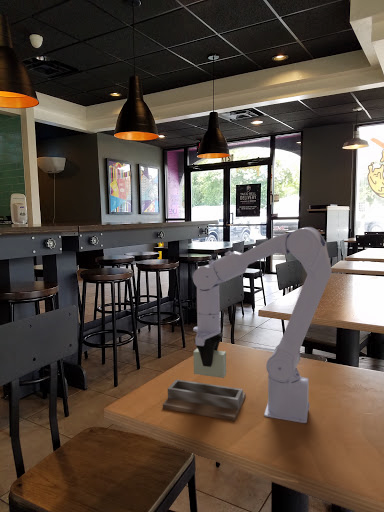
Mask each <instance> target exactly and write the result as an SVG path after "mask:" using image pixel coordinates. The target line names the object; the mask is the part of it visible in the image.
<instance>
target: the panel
mask: <svg viewBox="0 0 384 512" xmlns="http://www.w3.org/2000/svg"><path fill="white" fill-rule="evenodd" d="M192 353H193V355H192V357H193V375H198V376H199V375H200V376H204V377H205V376H207V377H213V378H221V379H224V378H225V377H226V375H227V351H225V350H224V351H223V350H217V351H216V350H214V353H213V362H212V366H211V367H207V366H203V364H202V360H201V356H200V353H199V350H198V348H197V347H196V349H194V350H193V352H192Z"/></svg>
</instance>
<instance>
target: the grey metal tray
mask: <svg viewBox="0 0 384 512" xmlns="http://www.w3.org/2000/svg"><path fill="white" fill-rule="evenodd" d="M246 395H247V394H246V392H244V389H243V388H239V387H230V386H226V385H225V386H224V385H217V384H211V383H204V382H196V381H190V380H183V379H177V378H176V379H175V380H174V381H173V382H172V384H170V385H169V387H168V388H167V398H166V399H165V401H164V402H163V403H162V409H165V410H170V411H177V412H182V413H188V414H193V415H197V416H203V417H204V416H205V417H211V418H215V419H220V420H226V421H227V420H228V421H232V422H233V421H234V422H235V421H236V419H237V417H238V414H239V412H240V410H241V407H242V405H243V403H244V401H245V399H246Z"/></svg>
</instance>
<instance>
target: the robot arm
mask: <svg viewBox="0 0 384 512" xmlns="http://www.w3.org/2000/svg"><path fill="white" fill-rule="evenodd" d="M290 253H291V255H292V256H293V257H295V259H296V260H297V261H299V262H300V263H301V265H302V267H303V269H304V271H305V273H306V277H305V280H304V283H303V284H302V288H301V289H300V293H299V295H298V298H297V300H296V302H295V305H294V307H293V311H292V313H291V315H290V318H289V320H288V323H287V325H286V328H285V330H284V332H283V335H282V337H281V339H280V342H279V343H278V345H277V346H276V347H275V349H274V351H273V352H272V354H271V356H270V357H269V358H268V359H267V360H266V366H265V367H266V372H267V374H268V375H267V376H268V377H267V378H268V379H267V380H268V381H267V383H268V384H267V385H268V386H267V387H268V389H267V391H268V393H267V395H268V396H267V397H268V399H267V405H266V407H265V410H264V414H263V415H264V417H265V418H271V419H279V420H282V421H283V420H284V421H290V422H296V423H300V424H301V423H302V424H307V422H308V415H309V414H308V413H309V411H310V401H309V386H310V385H309V384H310V383H309V381H310V380H309V378H308V377H303V376H301V374H300V371H299V369H298V368H297V367H298V364H299V362H300V360H301V348H302V345H303V342H304V340H305V337H306V335H307V333H308V330H309V327H310V326H311V323H312V320H313V319H314V315H315V314H316V311H317V309H318V306H319V304H320V302H321V299H322V297H323V295H324V291H325V290H326V287H327V285H328V283H329V280H330V278H331V275H332V270H333V269H332V264H331V260H330V257H329V256H330V255H329V251H328V248H327V242H326V240H325V239H324V237H323V236H322V234H321V232H320V231H319V230H317V229H316V228H314V227H312V226H305V227H302V228H297V229H295V230H293V231H290V232H287V233H282V234H279V235H277V236H274V237H272V238H269V239H268V240H266V241H264V242H262V243H260V244H258V245H256V246H254V247H252V248H250V249H248V250H247V251H245V252H239V251H235V250H234V251H231V250H228V251H226V252H225V253H224V256H221V257H220V258H218V259H215V260H214V259H211V260H209V261H208V263H209V264H206V265H201V266H199V267H198V268H197V269H195V271H193V275H192V281H193V283H194V285H195V287H196V313H197V314H196V315H197V316H196V317H197V318H196V319H197V323H196V324H197V326H194V327H193V330H192V331H193V332H196V336H195V338H194V341H193V342H194V345H195V346H196V348H198V350H199V353H200V356H201V360H202V364H203V366H207V367H211V366H212V362H213V353H214V350H216V351H219V345H220V342H221V340H222V338H223V336H224V335H223V333H222V332H221V330H222V329H221V317H220V316H221V315H220V314H221V311H220V310H221V309H220V307H221V306H220V284H221V283H225V282H227V281H229V280H231V279H233V278H236V277H238V276H241V275H243V274H245V273H246V271H247V270H248V269H247V268H248V267H249V265H251V264H254V263H255V262H258V261H260V260H263V259H265V258H267V257H270V256H272V255H274V254H280V255H281V254H282V255H288V254H290Z"/></svg>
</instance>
